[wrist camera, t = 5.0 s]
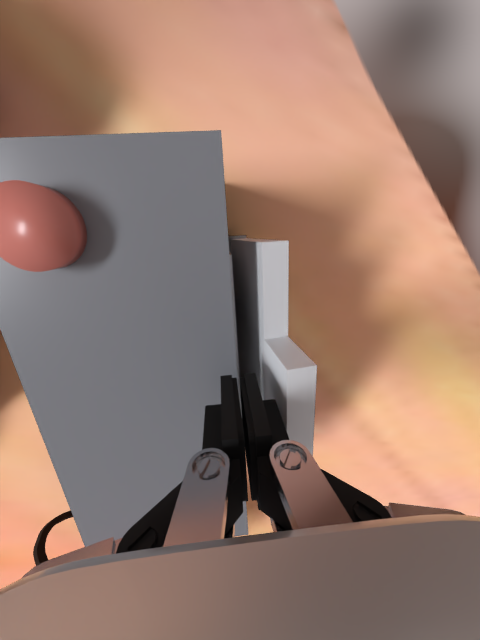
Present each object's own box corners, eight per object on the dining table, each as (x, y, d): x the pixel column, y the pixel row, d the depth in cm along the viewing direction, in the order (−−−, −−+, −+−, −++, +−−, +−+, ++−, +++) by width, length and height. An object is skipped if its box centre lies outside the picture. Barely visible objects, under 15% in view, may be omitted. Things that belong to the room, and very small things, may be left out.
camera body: (78, 188, 18) (-109, 129, 8) (221, 182, 19) (228, 118, 8) (141, 458, 26) (93, 605, 16) (240, 447, 27) (255, 582, 17)
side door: (226, 236, 20) (284, 238, 8) (244, 235, 20) (326, 235, 8) (237, 393, 24) (284, 541, 13) (251, 391, 25) (310, 534, 13)
